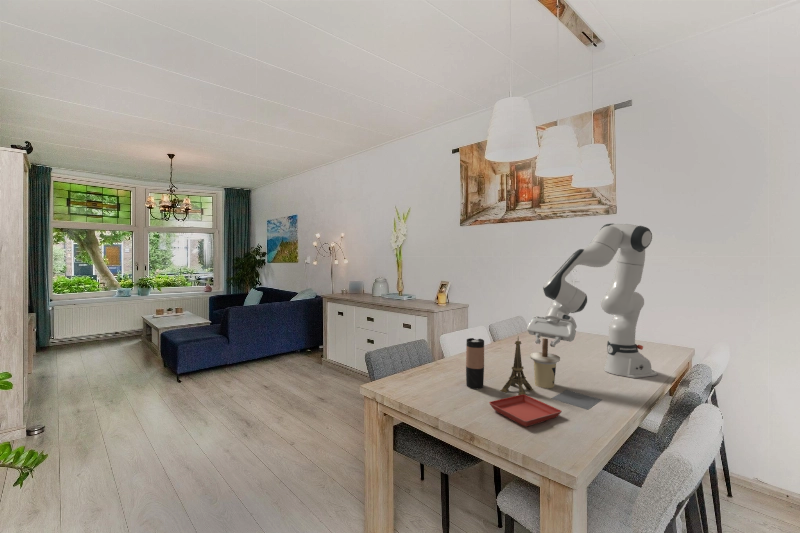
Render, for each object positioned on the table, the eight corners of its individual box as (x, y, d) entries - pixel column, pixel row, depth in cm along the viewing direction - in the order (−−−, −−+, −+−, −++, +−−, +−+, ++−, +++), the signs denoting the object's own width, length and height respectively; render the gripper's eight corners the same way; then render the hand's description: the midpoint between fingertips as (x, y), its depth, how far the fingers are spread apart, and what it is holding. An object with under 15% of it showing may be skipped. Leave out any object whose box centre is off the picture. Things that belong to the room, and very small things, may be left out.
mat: (566, 390, 158) (566, 389, 158) (602, 400, 148) (602, 399, 148) (550, 399, 149) (550, 398, 149) (588, 410, 139) (588, 409, 139)
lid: (550, 354, 170) (551, 335, 169) (565, 362, 158) (566, 342, 158) (525, 355, 168) (525, 336, 168) (538, 363, 156) (538, 342, 156)
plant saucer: (523, 401, 148) (523, 393, 148) (562, 419, 132) (563, 410, 132) (487, 410, 139) (487, 402, 139) (525, 431, 123) (525, 421, 123)
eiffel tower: (524, 397, 151) (525, 335, 150) (499, 391, 158) (500, 331, 157) (534, 390, 159) (535, 331, 158) (510, 384, 166) (511, 327, 165)
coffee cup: (558, 390, 158) (558, 362, 158) (534, 388, 160) (535, 360, 160) (553, 382, 167) (554, 356, 167) (531, 381, 169) (532, 354, 169)
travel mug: (473, 390, 158) (473, 343, 157) (462, 384, 165) (462, 339, 164) (487, 387, 162) (488, 341, 161) (476, 381, 169) (476, 337, 168)
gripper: (531, 311, 175) (519, 336, 169) (576, 317, 160) (565, 344, 154) (535, 320, 178) (524, 344, 172) (580, 326, 163) (570, 353, 157)
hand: (544, 344), depth 163 cm, fingers open, 5 cm apart
